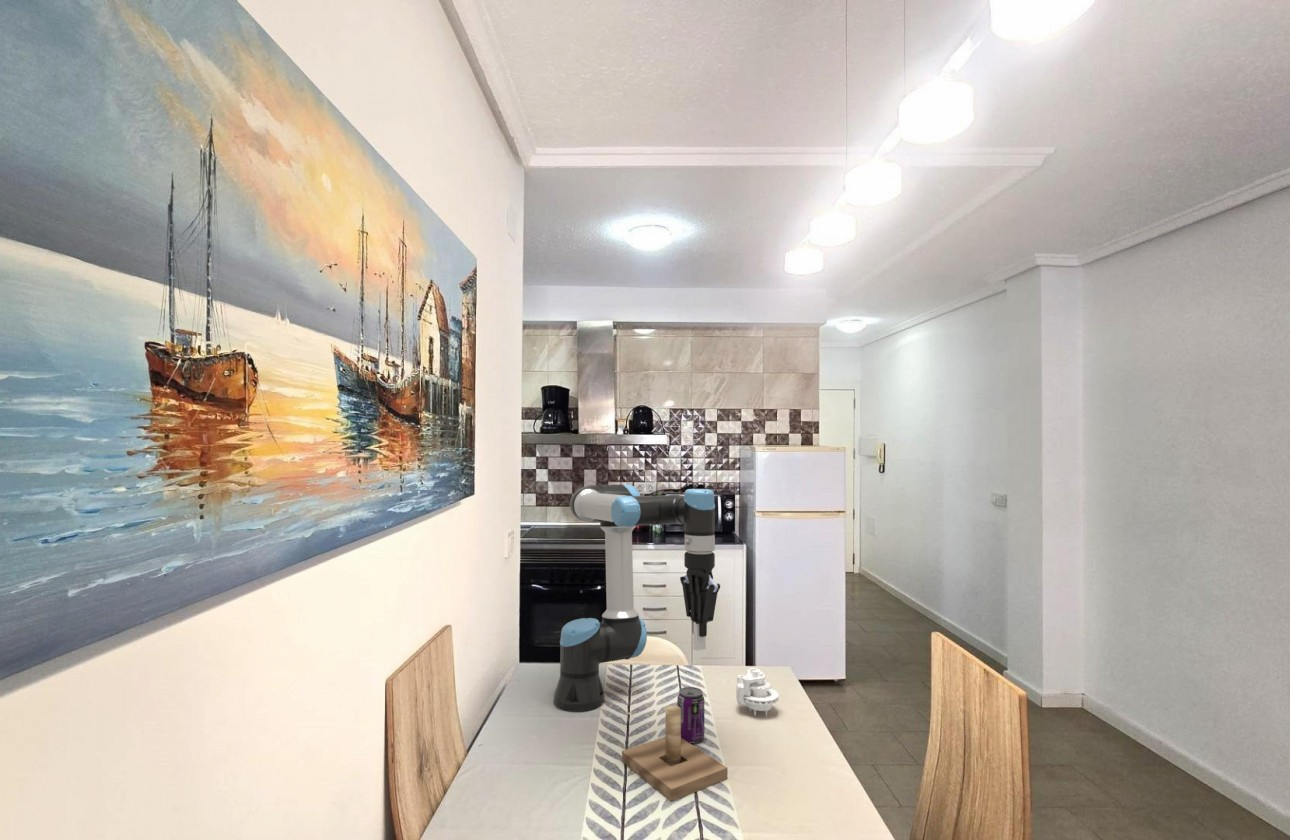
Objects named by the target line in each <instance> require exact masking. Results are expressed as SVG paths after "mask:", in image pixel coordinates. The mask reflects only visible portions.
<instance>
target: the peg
mask: <svg viewBox="0 0 1290 840" xmlns="http://www.w3.org/2000/svg"><path fill="white" fill-rule="evenodd" d="M664 720H665V723H664V724H665V725H664V726H665V728H664V729H665V732H664V733H665V736H664V737H665V760H666V761H667V764H668V765H670V766H674V765H677V764H679V762H680V761H681V708H680V707H678V706H677V705H674V704H673V705H668V706H666V707H665V719H664Z"/></svg>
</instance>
